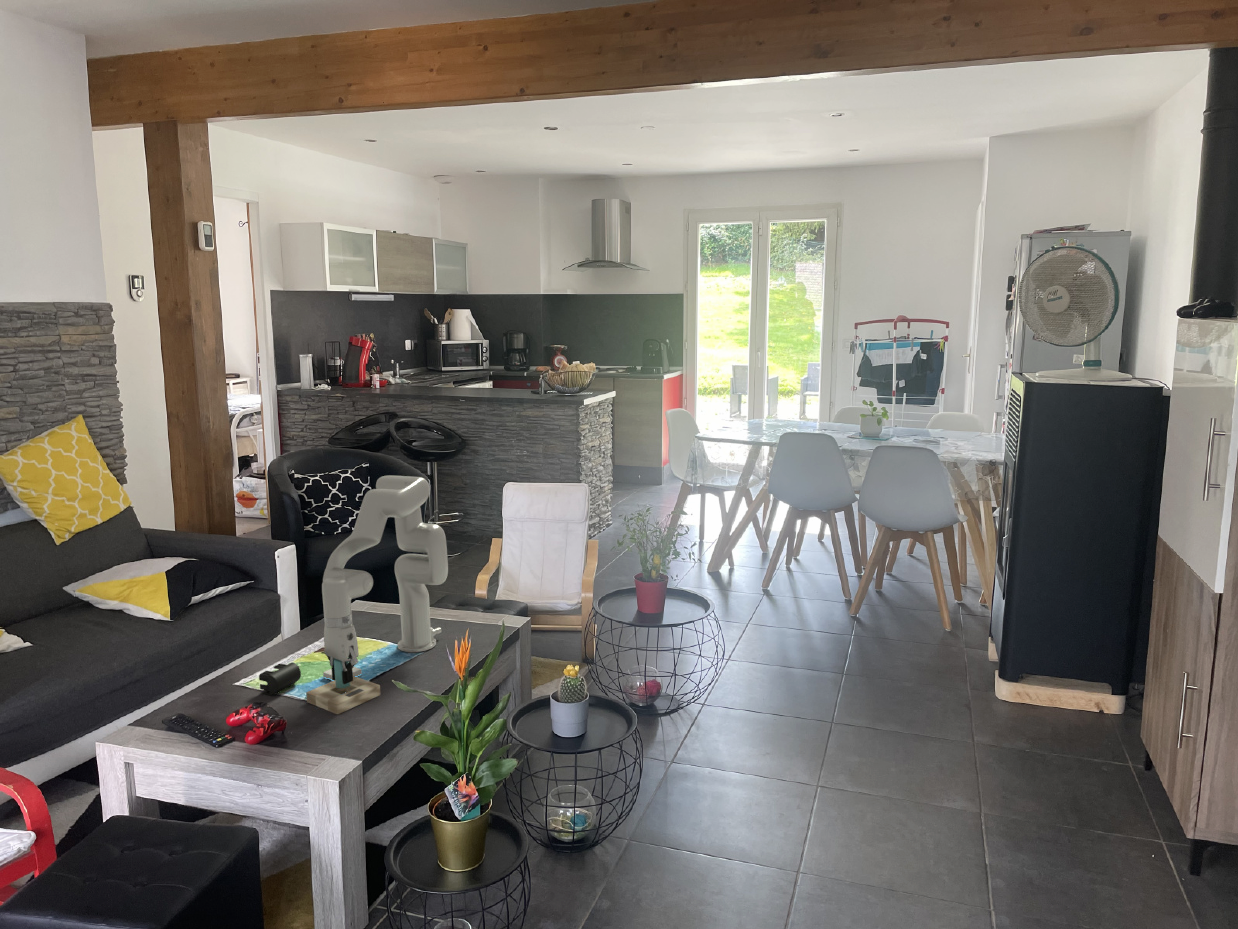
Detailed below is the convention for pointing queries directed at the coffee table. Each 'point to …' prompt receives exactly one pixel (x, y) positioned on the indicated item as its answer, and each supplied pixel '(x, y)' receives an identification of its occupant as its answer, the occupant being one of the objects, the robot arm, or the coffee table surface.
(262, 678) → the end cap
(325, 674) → the light grey square slab
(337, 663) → the teal peg
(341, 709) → the plate
